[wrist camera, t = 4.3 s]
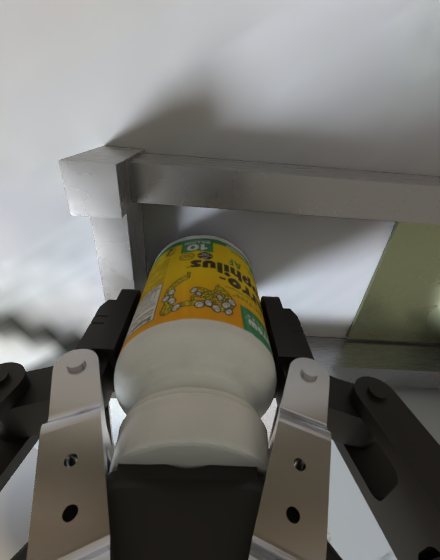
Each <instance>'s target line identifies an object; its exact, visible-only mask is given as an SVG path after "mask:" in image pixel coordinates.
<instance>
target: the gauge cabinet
mask: <svg viewBox="0 0 440 560" xmlns="http://www.w3.org/2000/svg"><path fill="white" fill-rule="evenodd" d="M390 387H391V388H392V389H393V390H394V391H395V393H396V394H397V395H398V396H399V397H400V399H401V400H402V401H403V402H404V403H405V404H406V406H407V407H408V408H409V409H410V410H411V412H412V413H413V414H414V415H415V416H416V418H417V419H418V420H419V421H420V422H421V423H422V425H423V426H424V427H425V428H426V429H427V431H428V432H429V433H430V434H431V435H432V437H433V438H434V439H435V440H436V441H437V442H438V444H439V445H440V388H420V387H397V386H390ZM328 526H329V530H330V534H331V538H332V541H333V545H334V549H335V550H336V552H337V553H338V554H339V555H340V557H341V558H342V559H343V560H397V558H396V556H395V554H394V553H393V551H392V549H391V547H390V545H389V543H388V541H387V540H386V538H385V536H384V534H383V532H382V530H381V528H380V527H379V525H378V523H377V521H376V519H375V517H374V515H373V514H372V512H371V510H370V508H369V506H368V504H367V502H366V501H365V499H364V497H363V495H362V493H361V491H360V489H359V488H358V486H357V484H356V482H355V480H354V478H353V476H352V475H351V473H350V471H349V469H348V467H347V465H346V463H345V462H344V460H343V458H342V456H341V454H340V452H339V451H338V449H337V447H336V445H335V443H334V441H333V440H332V439H331V461H330V483H329V506H328Z"/></svg>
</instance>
